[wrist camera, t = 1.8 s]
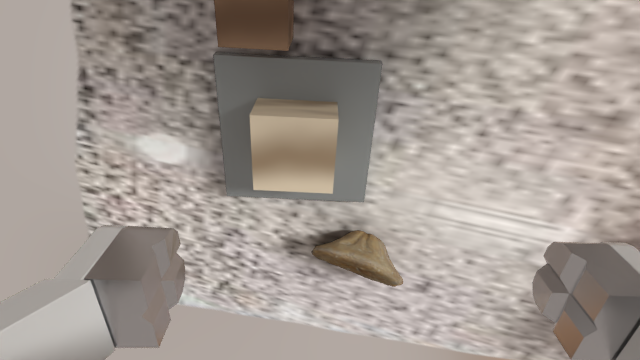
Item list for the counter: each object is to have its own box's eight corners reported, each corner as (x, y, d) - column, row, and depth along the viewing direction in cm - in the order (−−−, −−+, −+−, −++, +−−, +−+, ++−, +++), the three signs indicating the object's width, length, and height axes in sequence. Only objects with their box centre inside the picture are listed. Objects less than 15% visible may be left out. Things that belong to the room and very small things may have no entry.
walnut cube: (228, -36, 28) (211, -34, 24) (294, -32, 28) (288, -29, 24) (233, 34, 31) (218, 46, 27) (293, 37, 31) (288, 50, 27)
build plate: (216, 51, 32) (213, 54, 31) (380, 60, 32) (382, 63, 31) (229, 190, 39) (227, 195, 38) (362, 196, 39) (363, 202, 38)
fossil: (310, 251, 36) (411, 287, 35) (325, 209, 37) (422, 243, 36) (309, 260, 44) (390, 289, 43) (321, 226, 45) (400, 253, 45)
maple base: (257, 97, 33) (249, 115, 29) (337, 102, 33) (338, 119, 29) (260, 167, 36) (253, 189, 33) (331, 170, 36) (332, 193, 33)
